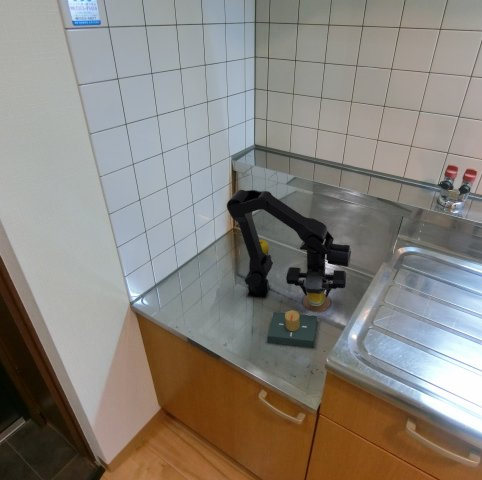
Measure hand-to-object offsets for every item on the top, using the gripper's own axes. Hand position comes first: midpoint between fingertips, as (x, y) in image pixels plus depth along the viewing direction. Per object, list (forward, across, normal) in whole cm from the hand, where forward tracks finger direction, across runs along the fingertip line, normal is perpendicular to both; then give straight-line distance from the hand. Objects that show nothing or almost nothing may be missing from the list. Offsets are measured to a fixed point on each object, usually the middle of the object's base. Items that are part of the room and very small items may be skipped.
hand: (316, 295), depth 125 cm
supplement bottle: (+3, 0, 0) cm, 3 cm away
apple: (+3, -24, +23) cm, 33 cm away
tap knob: (0, -6, -14) cm, 15 cm away
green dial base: (+3, -6, -14) cm, 15 cm away
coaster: (+3, 0, 0) cm, 3 cm away
